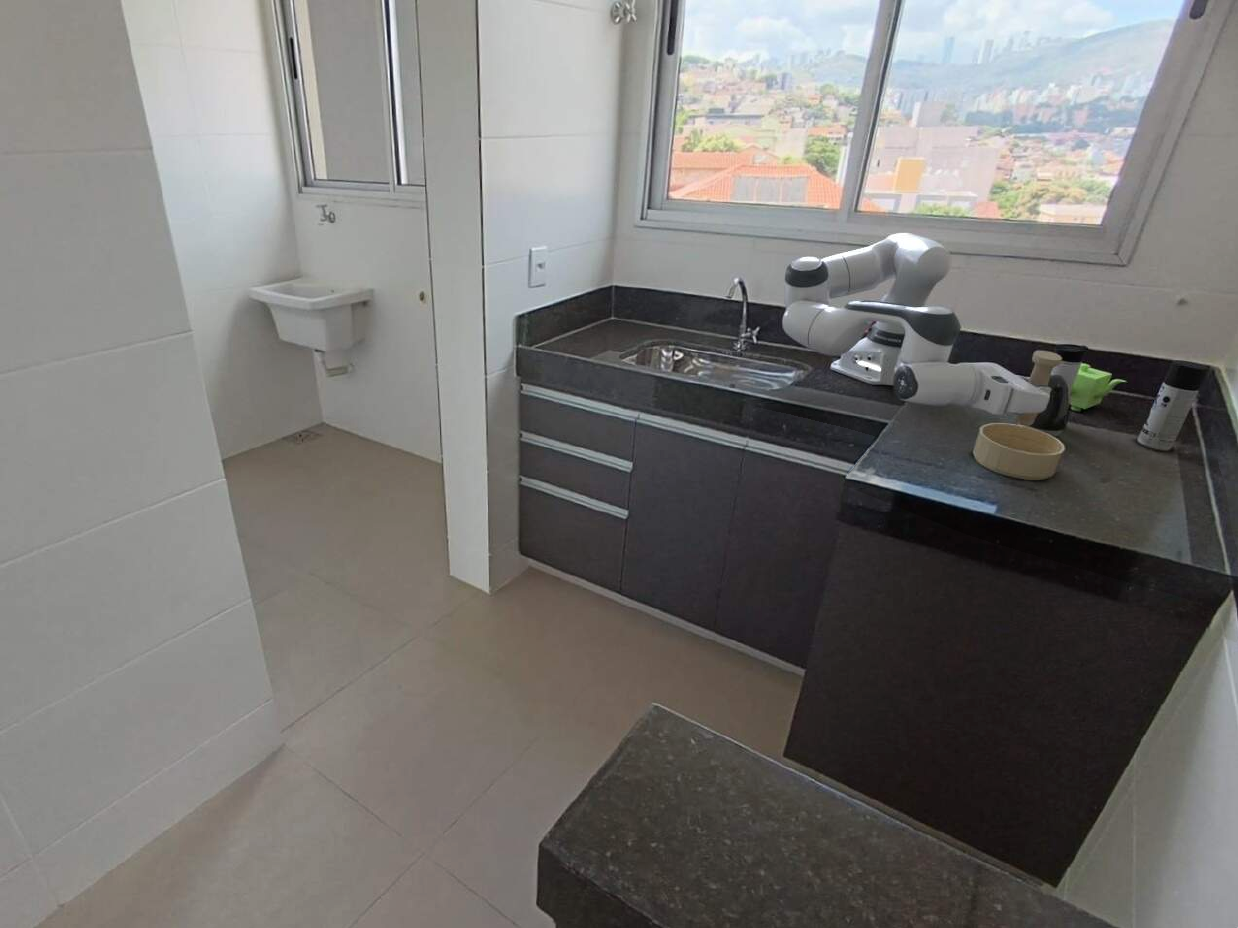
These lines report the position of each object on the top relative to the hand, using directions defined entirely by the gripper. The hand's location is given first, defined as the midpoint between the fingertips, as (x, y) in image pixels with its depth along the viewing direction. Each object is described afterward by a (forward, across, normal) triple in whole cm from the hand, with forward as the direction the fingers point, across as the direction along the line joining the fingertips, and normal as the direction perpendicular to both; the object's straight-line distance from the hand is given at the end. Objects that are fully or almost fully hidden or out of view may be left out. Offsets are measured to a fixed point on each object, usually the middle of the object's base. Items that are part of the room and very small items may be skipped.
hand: (1041, 386), depth 139 cm
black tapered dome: (+14, -15, -18) cm, 27 cm away
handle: (-1, 0, -8) cm, 9 cm away
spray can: (+41, -10, -18) cm, 46 cm away
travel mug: (+22, -23, -18) cm, 36 cm away
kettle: (+37, -35, -18) cm, 54 cm away
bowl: (0, 0, -18) cm, 18 cm away
